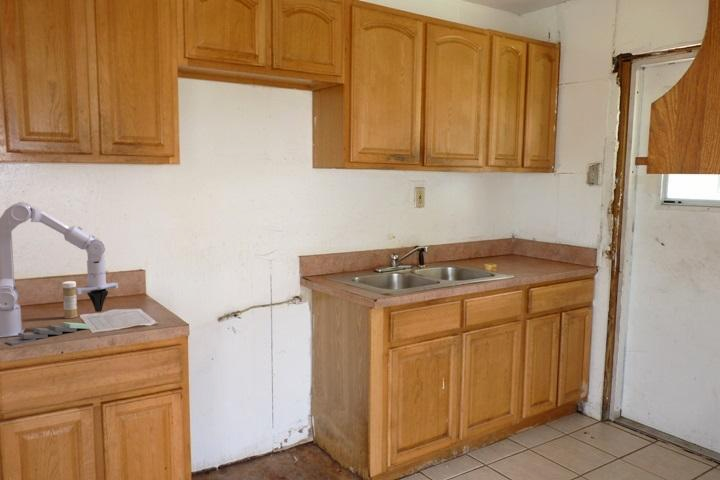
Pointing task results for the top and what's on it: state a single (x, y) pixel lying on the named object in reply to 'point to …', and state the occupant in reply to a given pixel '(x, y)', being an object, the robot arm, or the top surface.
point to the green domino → (76, 325)
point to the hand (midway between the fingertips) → (98, 311)
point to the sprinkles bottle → (69, 299)
